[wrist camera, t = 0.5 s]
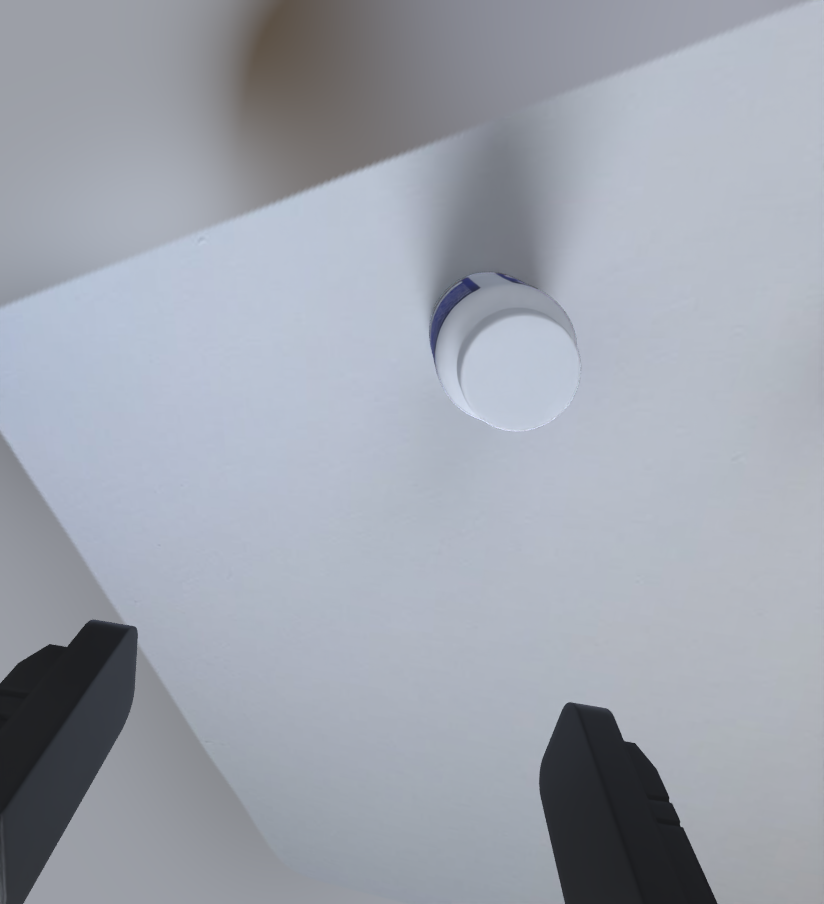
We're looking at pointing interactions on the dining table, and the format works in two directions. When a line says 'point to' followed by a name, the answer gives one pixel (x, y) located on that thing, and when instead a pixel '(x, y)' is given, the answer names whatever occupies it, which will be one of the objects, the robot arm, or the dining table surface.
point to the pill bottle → (504, 351)
